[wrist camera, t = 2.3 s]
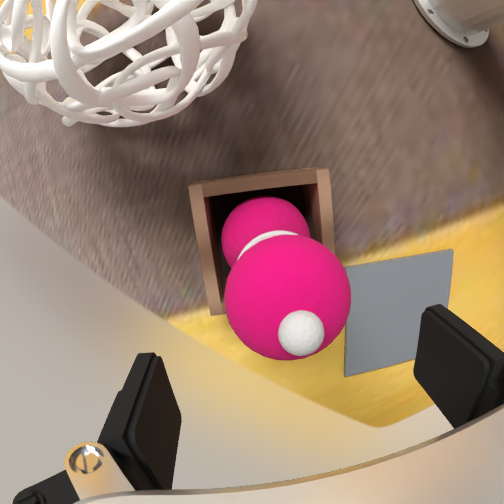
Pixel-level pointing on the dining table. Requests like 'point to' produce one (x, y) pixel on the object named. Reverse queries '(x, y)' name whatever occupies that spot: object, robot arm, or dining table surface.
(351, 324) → the mat
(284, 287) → the pink bowling pin
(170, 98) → the decorative ball
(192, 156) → the dining table surface
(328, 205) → the holder
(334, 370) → the dining table surface
